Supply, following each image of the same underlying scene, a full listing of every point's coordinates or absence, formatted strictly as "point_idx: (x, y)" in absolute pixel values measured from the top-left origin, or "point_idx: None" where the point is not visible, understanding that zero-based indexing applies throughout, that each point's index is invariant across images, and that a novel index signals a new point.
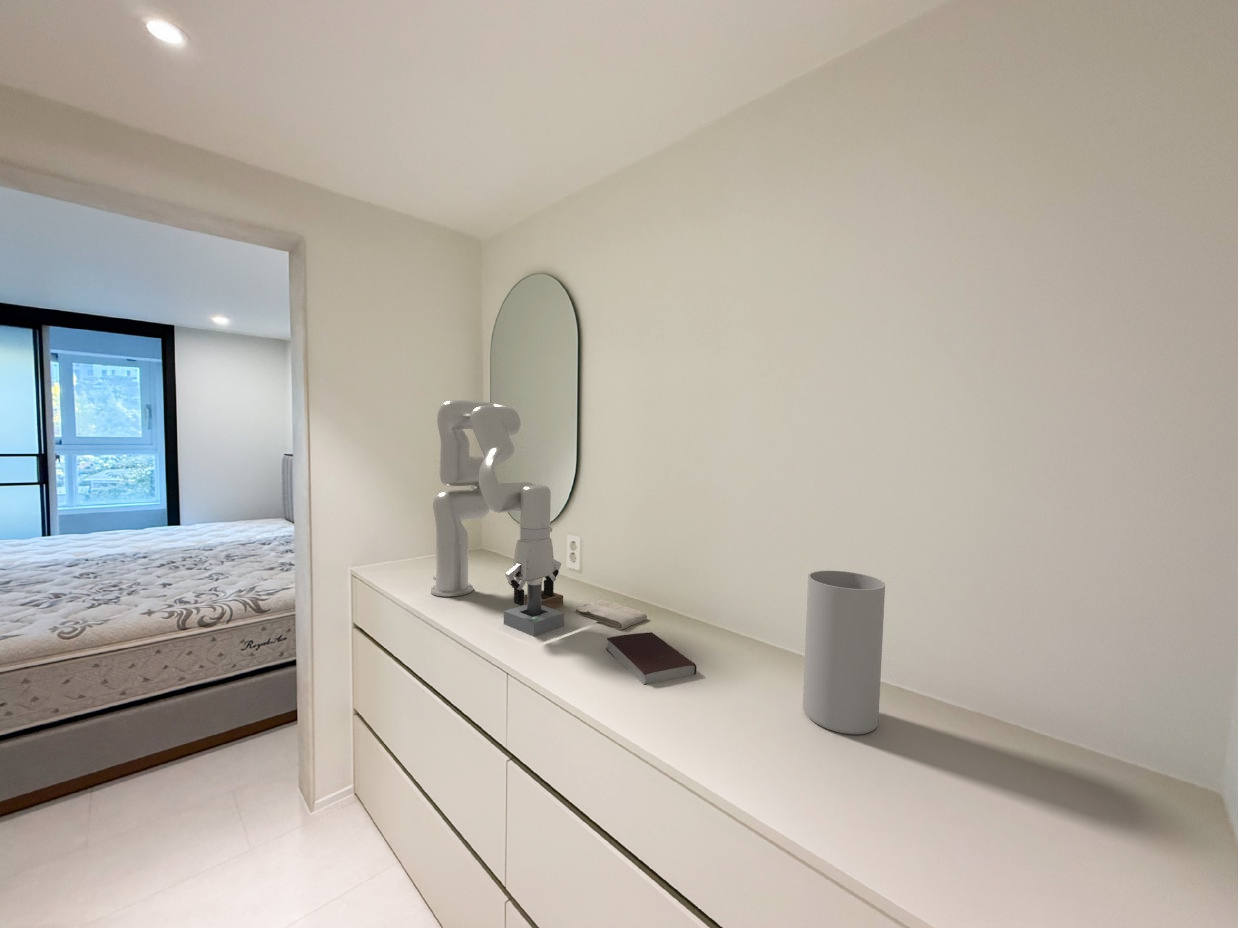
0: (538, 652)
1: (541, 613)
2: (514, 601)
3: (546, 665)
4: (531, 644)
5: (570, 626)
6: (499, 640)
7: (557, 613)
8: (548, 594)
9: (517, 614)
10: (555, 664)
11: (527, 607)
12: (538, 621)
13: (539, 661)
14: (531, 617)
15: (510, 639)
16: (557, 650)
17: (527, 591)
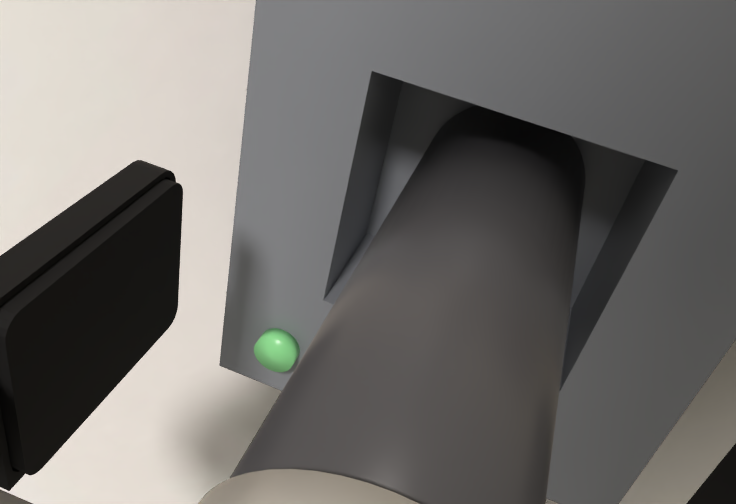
0: (154, 381)
1: (617, 254)
2: (132, 171)
3: (86, 455)
4: (205, 304)
5: (677, 436)
6: (96, 55)
7: (553, 473)
8: (711, 501)
9: (283, 113)
10: (121, 484)
11: (385, 221)
12: (273, 383)
13: (89, 418)
14: (305, 297)
15: (166, 126)
16: (240, 458)
17: (306, 363)
